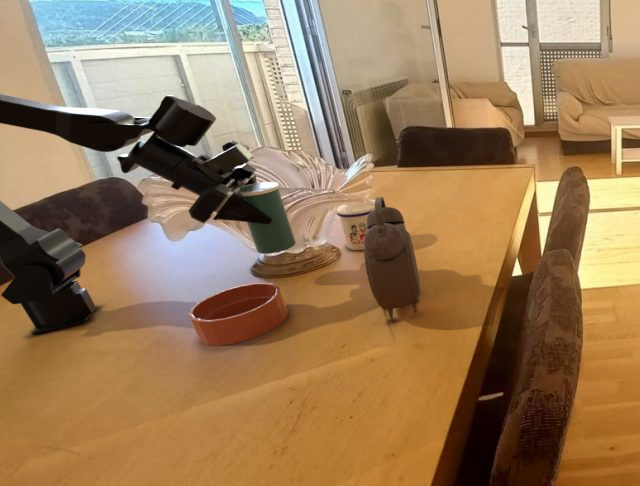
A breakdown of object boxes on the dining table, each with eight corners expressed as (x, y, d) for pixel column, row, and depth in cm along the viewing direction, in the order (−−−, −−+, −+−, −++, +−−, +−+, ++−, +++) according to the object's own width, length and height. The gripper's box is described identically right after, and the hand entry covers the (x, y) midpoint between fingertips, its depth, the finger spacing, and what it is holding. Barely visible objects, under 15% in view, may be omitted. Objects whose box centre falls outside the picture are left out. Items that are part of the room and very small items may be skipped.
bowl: (194, 358, 72) (181, 330, 70) (206, 321, 81) (195, 296, 79) (288, 331, 78) (278, 305, 76) (288, 300, 87) (280, 276, 85)
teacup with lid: (349, 255, 104) (335, 205, 100) (343, 241, 111) (330, 194, 107) (406, 240, 111) (395, 193, 106) (397, 229, 117) (387, 184, 113)
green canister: (266, 257, 87) (244, 195, 82) (248, 250, 90) (226, 190, 85) (304, 243, 92) (285, 184, 87) (285, 237, 95) (266, 180, 91)
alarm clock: (380, 292, 88) (354, 191, 81) (421, 284, 91) (400, 185, 83) (377, 334, 76) (345, 219, 68) (425, 323, 79) (400, 211, 71)
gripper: (185, 140, 73) (290, 197, 81) (226, 121, 89) (310, 171, 97) (142, 196, 73) (251, 247, 81) (190, 167, 89) (277, 213, 97)
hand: (275, 216), depth 89 cm, fingers closed on green canister, 6 cm apart
